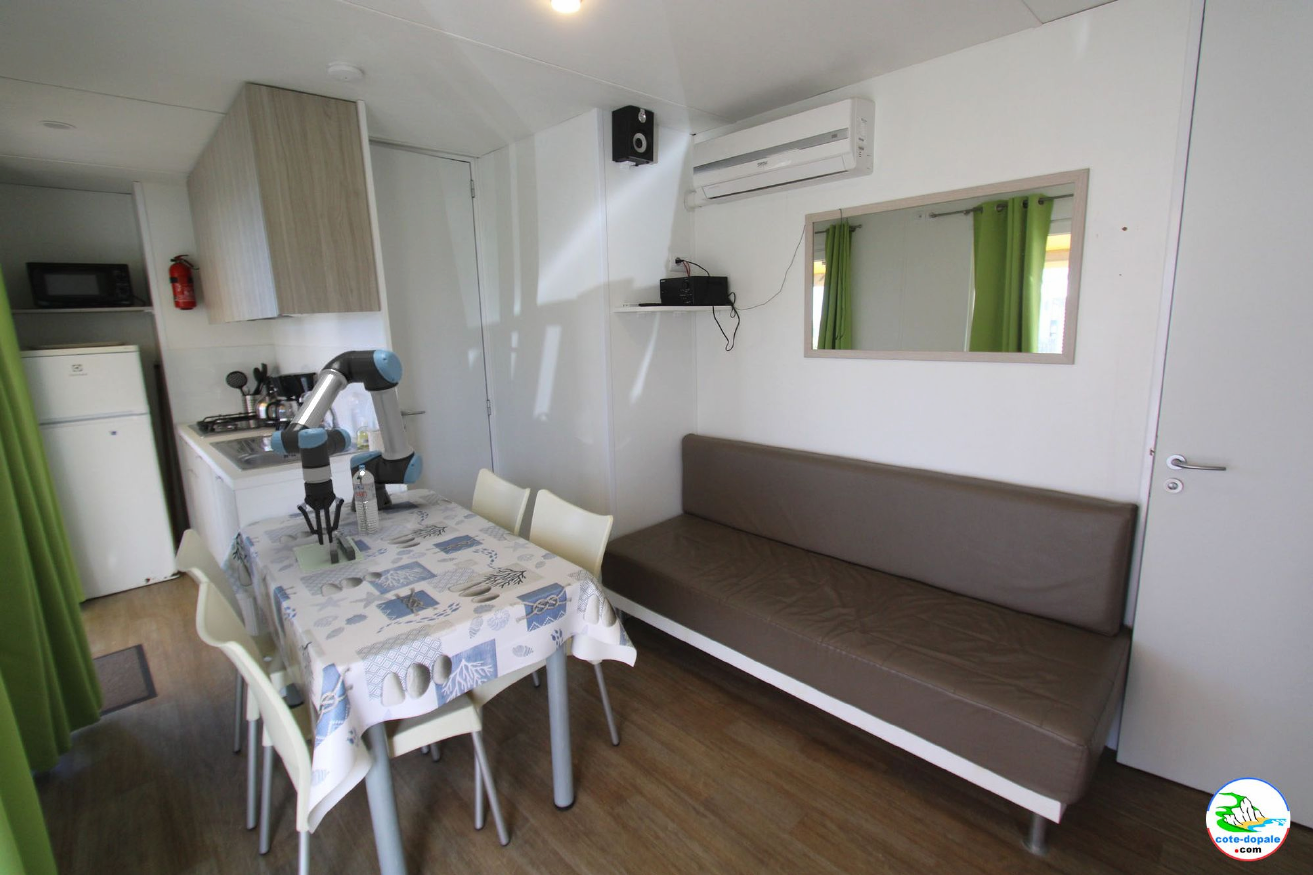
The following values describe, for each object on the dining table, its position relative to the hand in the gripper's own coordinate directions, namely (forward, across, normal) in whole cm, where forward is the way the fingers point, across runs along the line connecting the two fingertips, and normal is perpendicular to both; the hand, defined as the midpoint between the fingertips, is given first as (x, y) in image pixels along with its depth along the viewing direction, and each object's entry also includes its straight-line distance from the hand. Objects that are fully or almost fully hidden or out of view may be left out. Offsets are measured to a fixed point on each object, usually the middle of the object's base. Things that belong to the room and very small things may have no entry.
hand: (327, 553), depth 189 cm
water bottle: (+3, -16, -20) cm, 26 cm away
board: (+3, -1, -6) cm, 7 cm away
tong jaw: (+2, -2, -4) cm, 5 cm away
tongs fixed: (+2, -5, -7) cm, 9 cm away
